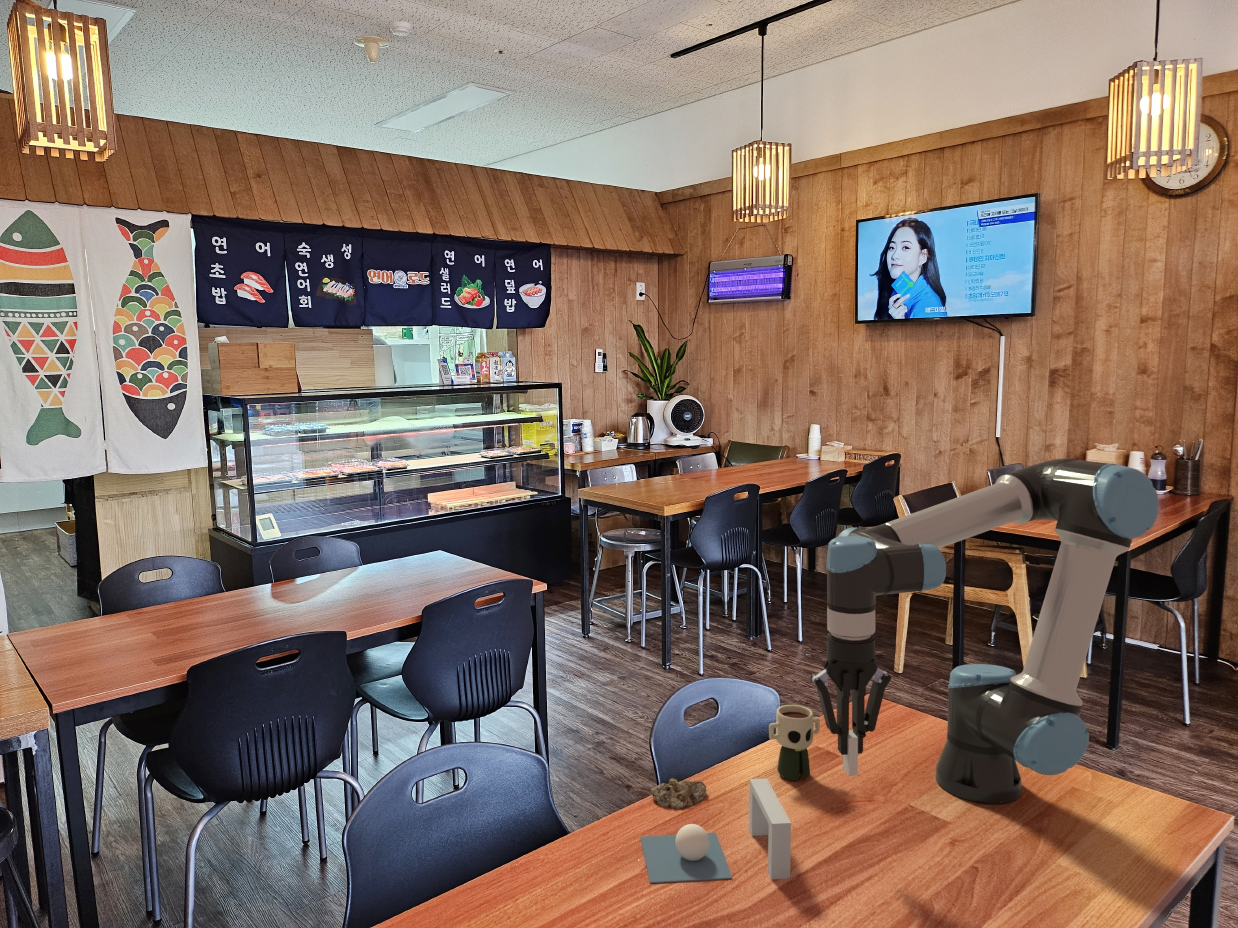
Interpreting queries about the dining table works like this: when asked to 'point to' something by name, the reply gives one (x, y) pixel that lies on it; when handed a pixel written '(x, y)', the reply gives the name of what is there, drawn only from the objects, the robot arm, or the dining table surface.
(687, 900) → the dining table surface
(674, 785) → the mineral rock
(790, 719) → the character mug
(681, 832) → the ball
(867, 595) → the robot arm
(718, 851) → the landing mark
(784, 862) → the bridge
